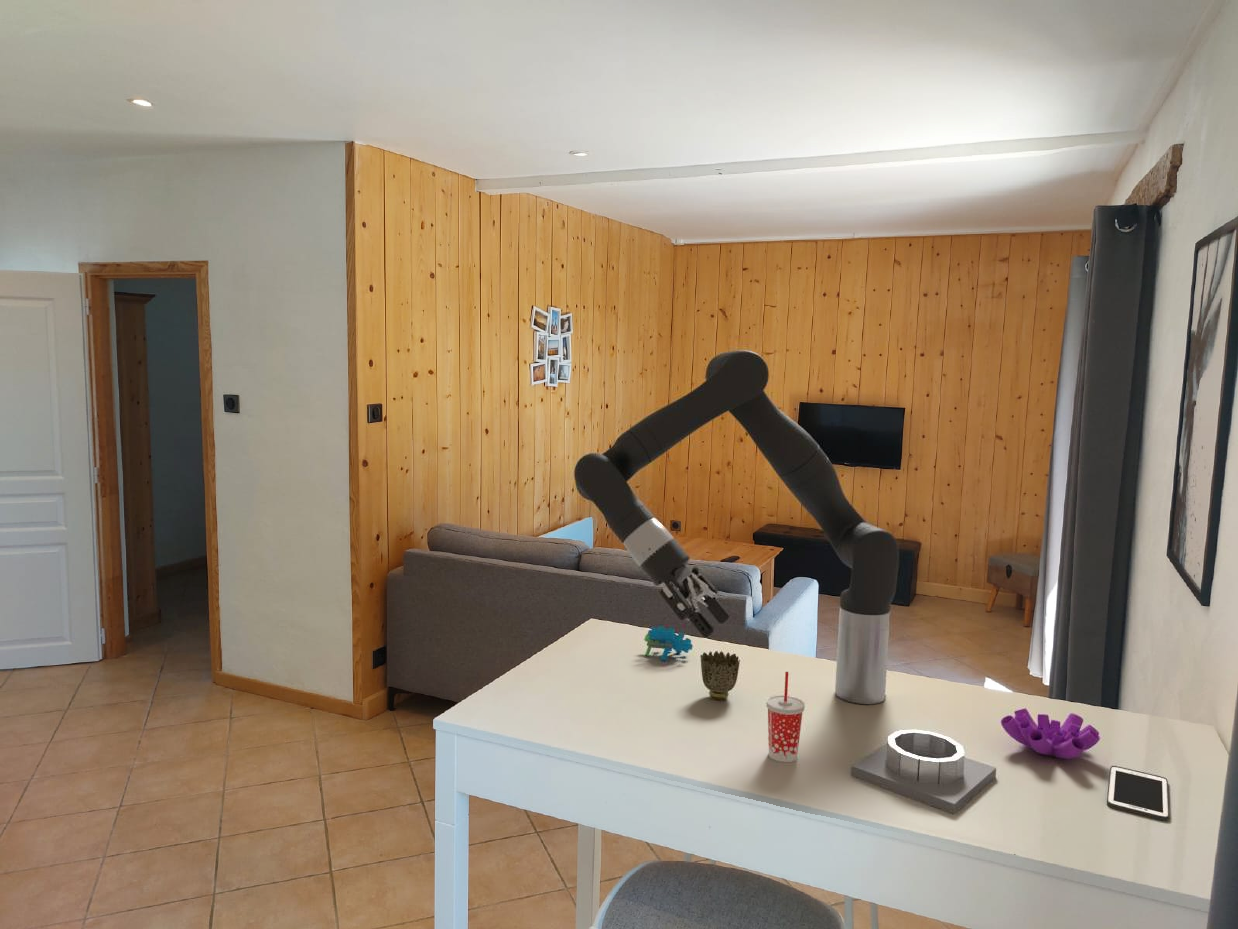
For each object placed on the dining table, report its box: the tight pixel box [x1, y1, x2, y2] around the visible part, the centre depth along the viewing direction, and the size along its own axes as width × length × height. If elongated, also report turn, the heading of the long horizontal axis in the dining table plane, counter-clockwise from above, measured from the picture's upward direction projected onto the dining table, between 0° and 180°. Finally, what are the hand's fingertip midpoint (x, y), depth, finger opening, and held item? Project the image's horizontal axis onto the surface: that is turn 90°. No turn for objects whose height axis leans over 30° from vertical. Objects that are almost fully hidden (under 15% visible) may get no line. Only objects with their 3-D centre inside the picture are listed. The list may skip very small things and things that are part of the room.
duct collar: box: [886, 729, 966, 785], centre depth 131 cm, size 11×11×4 cm
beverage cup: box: [766, 671, 806, 763], centre depth 136 cm, size 6×6×14 cm
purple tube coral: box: [1000, 707, 1101, 760], centre depth 140 cm, size 11×15×10 cm
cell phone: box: [1106, 765, 1170, 822], centre depth 127 cm, size 8×15×1 cm, turn 148°
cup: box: [700, 650, 741, 701], centre depth 160 cm, size 8×7×8 cm
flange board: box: [850, 742, 997, 815], centre depth 131 cm, size 16×16×2 cm
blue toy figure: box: [643, 625, 694, 662], centre depth 182 cm, size 11×6×10 cm
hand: (718, 627), depth 140 cm, fingers open, 8 cm apart
